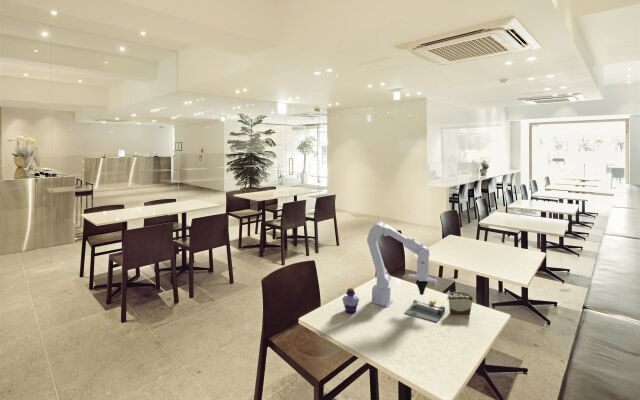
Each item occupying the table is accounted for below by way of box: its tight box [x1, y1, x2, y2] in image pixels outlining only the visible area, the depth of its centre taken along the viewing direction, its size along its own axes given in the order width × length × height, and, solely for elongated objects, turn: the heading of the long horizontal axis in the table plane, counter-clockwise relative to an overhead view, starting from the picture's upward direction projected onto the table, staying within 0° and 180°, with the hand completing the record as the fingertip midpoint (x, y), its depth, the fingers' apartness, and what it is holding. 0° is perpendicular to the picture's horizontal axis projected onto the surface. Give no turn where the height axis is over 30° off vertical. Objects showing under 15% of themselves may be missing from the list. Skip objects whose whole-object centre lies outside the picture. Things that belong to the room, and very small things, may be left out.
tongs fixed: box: [415, 299, 446, 314], centre depth 170 cm, size 16×2×3 cm, turn 55°
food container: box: [447, 291, 474, 317], centre depth 166 cm, size 12×6×10 cm, turn 84°
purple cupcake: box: [341, 287, 360, 315], centre depth 170 cm, size 9×9×12 cm
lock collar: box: [428, 298, 437, 306], centre depth 169 cm, size 2×3×2 cm
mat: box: [404, 303, 442, 323], centre depth 167 cm, size 16×12×1 cm
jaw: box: [412, 299, 444, 317], centre depth 168 cm, size 15×3×4 cm, turn 50°
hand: (421, 294), depth 172 cm, fingers closed
